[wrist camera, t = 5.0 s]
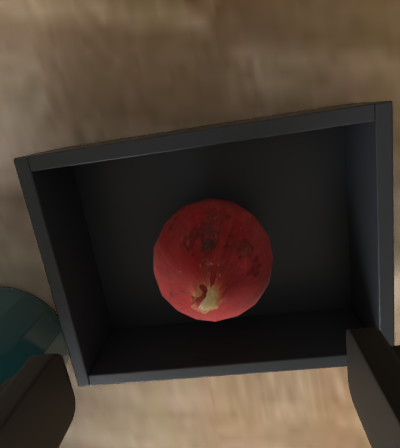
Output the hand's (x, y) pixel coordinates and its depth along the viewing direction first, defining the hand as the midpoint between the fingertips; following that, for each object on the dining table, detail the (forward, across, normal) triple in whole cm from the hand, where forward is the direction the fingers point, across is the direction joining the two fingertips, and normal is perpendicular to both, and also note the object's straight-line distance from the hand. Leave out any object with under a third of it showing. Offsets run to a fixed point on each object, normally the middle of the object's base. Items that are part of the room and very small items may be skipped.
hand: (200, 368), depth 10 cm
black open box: (+12, 0, 0) cm, 13 cm away
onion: (+12, 0, 0) cm, 12 cm away
